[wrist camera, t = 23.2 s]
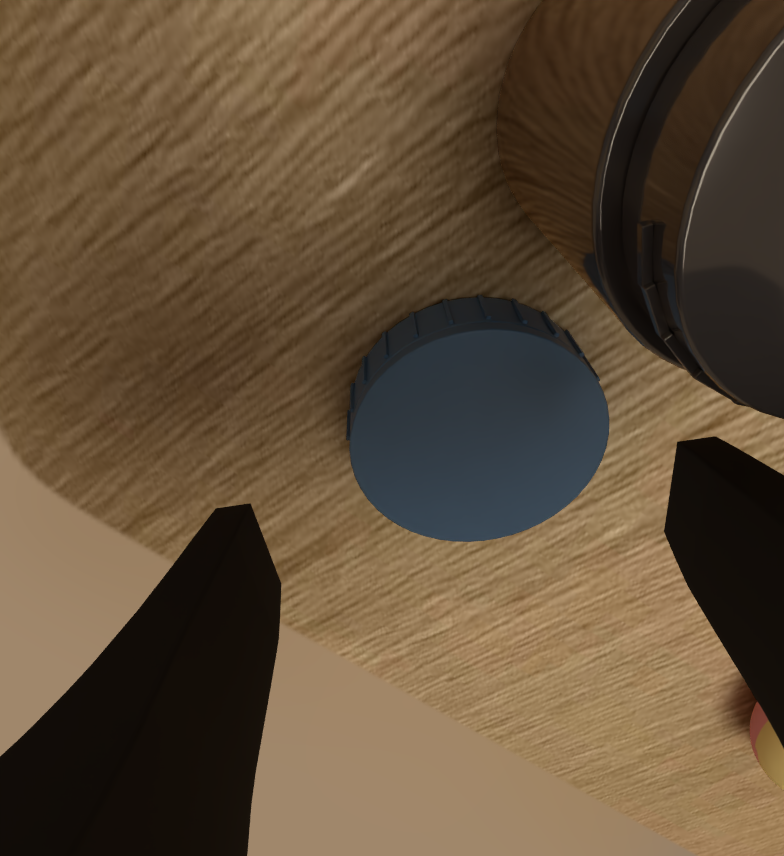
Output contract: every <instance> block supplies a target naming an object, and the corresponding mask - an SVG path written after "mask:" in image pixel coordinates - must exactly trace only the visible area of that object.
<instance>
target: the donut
mask: <svg viewBox="0 0 784 856" xmlns="http://www.w3.org/2000/svg"><path fill="white" fill-rule="evenodd" d="M750 739H751V744H752V748H753V751H754V754H755V756H756V758H757V760H758V762H759V764H760V765H761V767H762V769H763V770H764V771H765V773H766V774H767V775H768V776H769V777H770V779H771V780H772V781H773V782H774V783H775V784H776V785H778V786H779V787H780V788H781V789H782V790H784V748H783V746H782V744H781V742H780V740H779V738H778V737H777V735H776V733H775V731H774V729H773V728H772V726H771V724H770V722H769V720H768V719H767V717H766V715H765V713H764V711H763V710H762V708H761V706H760V705H759V703H758V701H757V702H756V704H755V707H754V709H753V712H752V715H751V721H750Z"/></svg>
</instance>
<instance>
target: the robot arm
mask: <svg viewBox="0 0 784 856" xmlns="http://www.w3.org/2000/svg"><path fill="white" fill-rule="evenodd" d="M664 532H665V535H666V537H667V540H668V542H669V544H670V547H671V549H672V551H673V554H674V556H675V559H676V561H677V563H678V565H679V568H680V570H681V572H682V574H683V576H684V579H685V581H686V583H687V585H688V587H689V589H690V590H691V592H692V594H693V596H694V597H695V599H696V601H697V602H698V604H699V606H700V607H701V609H702V611H703V612H704V614H705V616H706V617H707V619H708V621H709V622H710V624H711V626H712V627H713V629H714V631H715V632H716V634H717V636H718V637H719V639H720V641H721V642H722V644H723V646H724V647H725V649H726V650H727V652H728V654H729V655H730V657H731V659H732V660H733V662H734V664H735V665H736V667H737V669H738V670H739V672H740V673H741V675H742V677H743V678H744V680H745V682H746V683H747V685H748V687H749V688H750V690H751V692H752V693H753V695H754V696H755V698H756V700H757V701H758V703H759V705H760V706H761V708H762V710H763V711H764V713H765V715H766V717H767V719H768V720H769V722H770V724H771V726H772V728H773V729H774V731H775V733H776V735H777V737H778V738H779V740H780V742H781V744H782V746H783V748H784V475H782V474H781V473H779V472H777V471H775V470H774V469H772V468H770V467H769V466H767V465H765V464H763V463H762V462H760V461H758V460H757V459H755V458H753V457H751V456H750V455H748V454H746V453H745V452H743V451H741V450H739V449H738V448H736V447H734V446H732V445H730V444H729V443H727V442H725V441H723V440H721V439H719V438H717V437H708V438H701V439H694V440H687V441H680V442H677V448H676V455H675V462H674V469H673V475H672V482H671V489H670V496H669V502H668V509H667V516H666V523H665V529H664ZM280 605H281V582H280V579H279V577H278V574H277V571H276V569H275V566H274V564H273V561H272V558H271V556H270V553H269V551H268V548H267V545H266V543H265V540H264V537H263V535H262V532H261V530H260V527H259V524H258V522H257V519H256V517H255V514H254V511H253V509H252V506H251V504H243V505H236V506H229V507H223V508H216V509H215V510H214V512H213V513H212V514H211V515H210V517H209V518H208V519H207V521H206V522H205V523H204V525H203V526H202V527H201V529H200V530H199V531H198V532H197V534H196V535H195V536H194V538H193V539H192V540H191V542H190V543H189V544H188V546H187V547H186V548H185V550H184V551H183V552H182V554H181V555H180V556H179V558H178V559H177V560H176V562H175V563H174V564H173V566H172V567H171V568H170V570H169V571H168V572H167V574H166V575H165V576H164V577H163V579H162V580H161V581H160V583H159V584H158V585H157V587H156V588H155V589H154V590H153V591H152V593H151V594H150V595H149V597H148V598H147V599H146V600H145V602H144V603H143V604H142V606H141V607H140V608H139V609H138V611H137V612H136V613H135V614H134V616H133V617H132V618H131V619H130V620H129V621H128V622H127V624H126V625H125V626H124V627H123V628H122V630H121V631H120V632H119V633H118V634H117V635H116V637H115V638H114V639H113V640H112V641H111V642H110V644H109V645H108V646H107V647H106V648H105V650H104V651H103V652H102V653H101V654H100V655H99V657H98V658H97V659H96V660H95V661H94V662H93V664H92V665H91V666H90V667H89V668H88V669H87V670H86V671H85V672H84V673H83V675H82V676H81V677H80V678H79V679H78V680H77V681H76V682H75V683H74V684H73V685H72V686H71V687H70V688H69V690H68V691H67V692H66V693H65V694H64V695H63V696H62V697H61V698H60V699H59V700H58V701H57V702H56V703H55V704H54V705H53V706H52V707H51V708H50V709H49V710H48V711H47V712H46V713H45V714H44V715H43V716H42V717H41V718H40V719H39V720H38V721H37V722H36V723H35V724H34V725H33V726H32V727H31V728H30V729H29V730H28V731H27V732H26V733H25V734H24V735H23V736H22V737H21V738H20V739H19V740H18V741H17V742H16V743H14V744H13V746H11V747H10V748H9V749H8V750H7V751H6V752H5V753H4V754H3V755H1V756H0V856H247V851H248V839H249V826H250V813H251V803H252V795H253V787H254V780H255V773H256V767H257V761H258V755H259V750H260V744H261V739H262V733H263V727H264V721H265V715H266V710H267V705H268V699H269V693H270V688H271V682H272V676H273V670H274V664H275V658H276V653H277V646H278V640H279V625H280Z"/></svg>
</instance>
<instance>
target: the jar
mask: <svg viewBox="0 0 784 856" xmlns="http://www.w3.org/2000/svg"><path fill="white" fill-rule="evenodd" d="M497 142H498V152H499V157H500V161H501V166H502V170H503V173H504V176H505V178H506V181H507V184H508V186H509V188H510V190H511V192H512V194H513V196H514V198H515V200H516V201H517V203H518V204H519V205H520V207H521V208H522V210H523V211H524V212H525V214H526V215H527V216H528V217H529V218H530V219H531V221H532V222H533V223H534V224H535V225H536V226H537V227H538V229H539V230H540V231H541V232H542V233H543V234H544V235H545V237H546V238H547V239H548V240H549V241H550V242H551V243H552V245H553V246H554V247H555V248H556V249H557V250H558V251H559V253H560V254H561V255H562V256H563V257H564V258H565V259H566V261H567V262H568V263H569V264H570V265H571V266H572V267H573V269H574V270H575V271H576V272H577V273H578V274H579V275H580V277H581V278H582V279H583V280H584V281H585V282H586V283H587V285H588V286H589V287H590V288H591V289H592V290H593V291H594V293H595V294H596V295H597V296H598V297H599V298H600V299H601V301H602V302H603V303H604V304H605V305H606V306H607V307H608V309H609V310H610V311H611V312H612V313H613V314H614V315H615V317H616V318H617V319H618V320H619V321H620V322H621V323H622V325H623V326H624V327H625V328H626V329H627V330H628V331H629V332H630V333H631V334H632V335H633V336H634V337H635V338H636V339H637V340H638V341H639V342H640V343H641V344H642V345H643V346H644V347H645V348H647V349H648V350H650V351H651V352H652V353H654V354H655V355H657V356H658V357H659V358H661V359H663V360H665V361H667V362H669V363H671V364H673V365H675V366H677V367H679V368H681V369H684V370H687V371H688V373H689V374H690V375H691V376H692V377H693V378H694V379H696V380H697V381H699V382H701V383H703V384H704V385H706V386H708V387H710V388H711V389H713V390H715V391H717V392H718V393H720V394H722V395H723V396H725V397H727V398H729V399H730V400H732V401H733V402H734V403H735V404H737V405H742V406H747V407H751V408H753V409H755V410H757V411H759V412H762V413H766V414H769V415H772V416H775V417H779V418H782V419H784V0H543V1H542V2H541V3H540V5H539V6H538V7H537V9H536V10H535V12H534V13H533V15H532V16H531V18H530V19H529V21H528V23H527V24H526V26H525V27H524V29H523V31H522V33H521V35H520V37H519V39H518V41H517V43H516V45H515V47H514V49H513V52H512V55H511V57H510V60H509V62H508V65H507V68H506V71H505V75H504V78H503V82H502V86H501V90H500V96H499V103H498V110H497Z"/></svg>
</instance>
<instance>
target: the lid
mask: <svg viewBox="0 0 784 856" xmlns="http://www.w3.org/2000/svg"><path fill="white" fill-rule="evenodd" d="M409 315H410V316H409V317H408V318H406V319H404V320H403V321H401V322H400V323H398V324H397V325H396V326H394V327H393V328H392V329H391V330H389V331H388V332H386V331H384V332H383V333H382V338H381V339H380V340H379V341H378V342H377V343H376V344H375V345H374V347H373V348H372V350H371V351H370V352H369V354H368V355H367V356H363V358H362V365H361V367H360V369H359V371H358V374H357V377H356V380H355V383H351V386H350V410H348V412H347V434H346V439H347V440H350V447H349V451H350V459H351V465H352V468H353V472H354V475H355V478H356V480H357V482H358V484H359V486H360V488H361V490H362V491H363V493H364V494H365V496H366V497H367V499H368V500H369V501H370V502H371V503H372V504H373V505H374V507H375V508H376V509H377V510H378V511H380V512H381V513H382V514H383V515H384V516H386V517H387V518H388V519H390V520H391V521H393V522H394V523H396V524H397V525H399V526H401V527H403V528H405V529H407V530H409V531H412V532H414V533H417V534H420V535H423V536H426V537H431V538H435V539H440V540H448V541H463V542H471V541H484V540H491V539H497V538H501V537H505V536H509V535H513V534H516V533H519V532H521V531H524V530H527V529H529V528H531V527H533V526H536V525H538V524H540V523H542V522H544V521H545V520H547V519H549V518H550V517H552V516H554V515H555V514H556V513H558V512H559V511H561V510H562V509H563V508H565V507H566V506H567V505H568V504H569V503H570V502H571V501H573V500H574V499H575V498H576V497H577V496H578V495H579V494H580V493H581V491H582V490H583V489H584V488H585V487H586V486H587V484H588V483H589V481H590V480H591V478H592V477H593V476H594V474H595V472H596V471H597V469H598V467H599V465H600V463H601V461H602V458H603V455H604V452H605V449H606V446H607V440H608V435H609V413H608V406H607V402H606V399H605V396H604V392H603V390H602V388H601V386H600V384H599V382H598V381H600V379H599V377H598V375H597V374H596V372H595V371H594V369H593V368H592V366H591V365H590V363H589V362H588V360H587V359H586V357H585V356H584V353H583V352H582V350H581V349H580V347H579V346H578V344H577V343H576V341H575V340H574V338H573V337H572V335H571V334H570V333H569V331H568V330H565V331H563V330H562V329H561V328H560V327H559V326H558V325H557V324H556V323H555V322H553V321H552V320H551V319H550V318H549V316H548V315H547V313H546V312H544V311H542V312H541V313H540V312H538V311H536V310H534V309H532V308H530V307H528V306H525V305H522V304H519V303H518V302H517V300H516V299H512V300H511V301H508V300H503V299H498V298H483V296H482V295H477V297H476V298H462V299H456V300H451V301H447V299H445V300H442V303H439V304H436V305H433V306H430V307H427V308H425V309H423V310H421V311H419V312H417V313H414V312H411V313H410V314H409Z"/></svg>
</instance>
